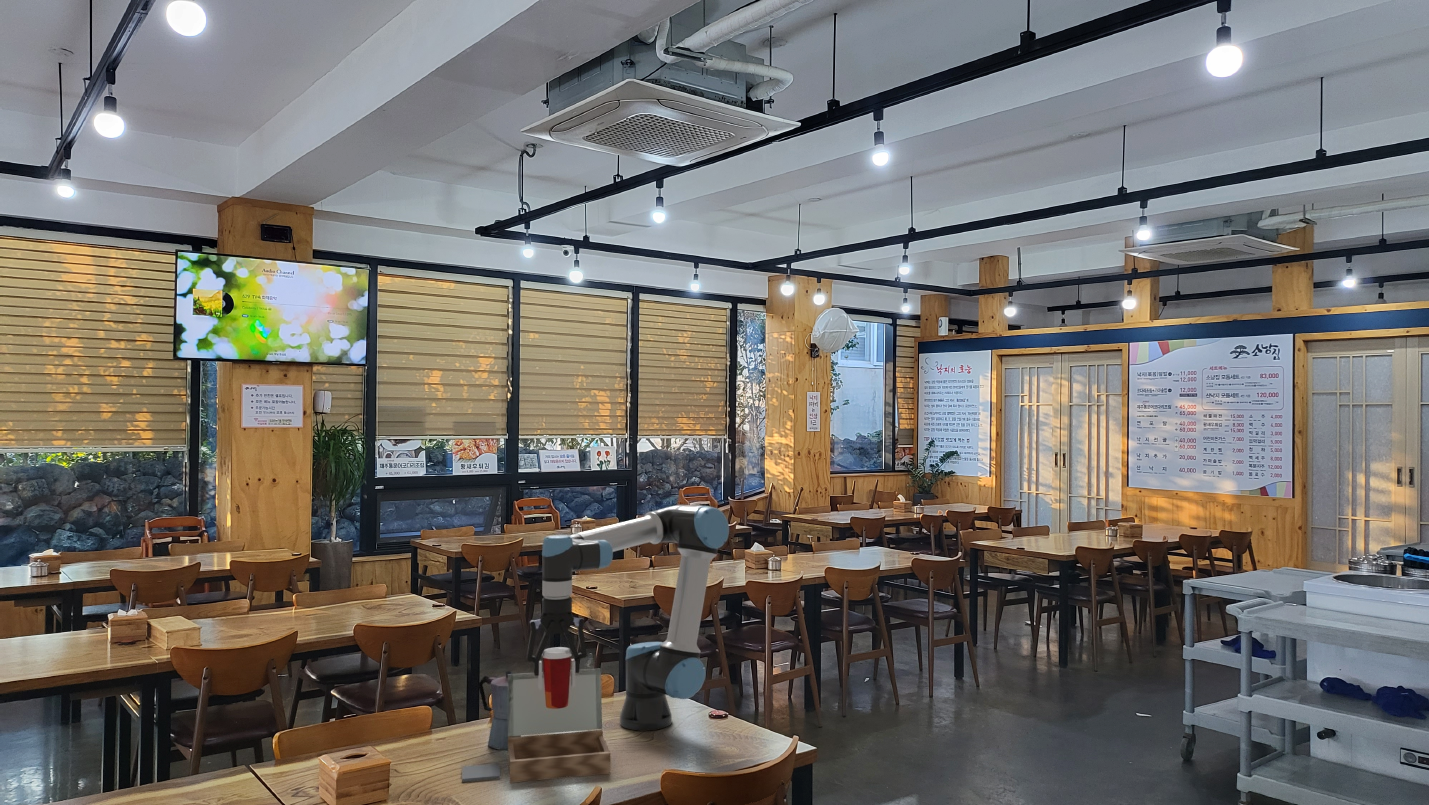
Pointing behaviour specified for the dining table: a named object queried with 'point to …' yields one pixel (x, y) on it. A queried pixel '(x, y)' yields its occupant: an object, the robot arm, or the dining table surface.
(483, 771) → the plate
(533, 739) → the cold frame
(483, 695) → the moka pot
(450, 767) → the dining table surface
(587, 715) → the lid
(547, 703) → the paper cup
